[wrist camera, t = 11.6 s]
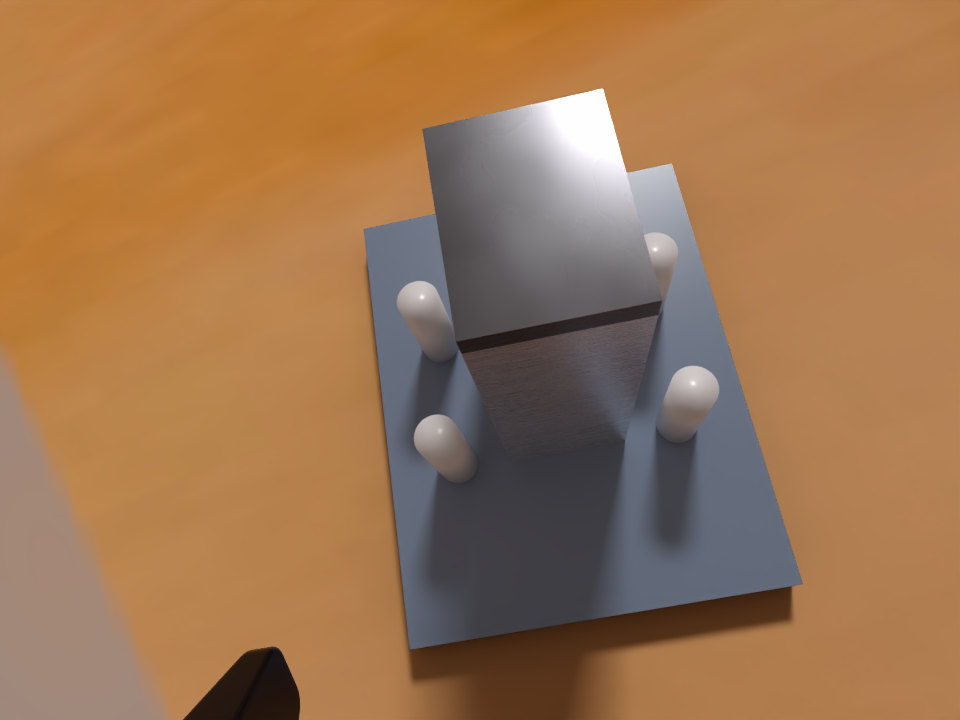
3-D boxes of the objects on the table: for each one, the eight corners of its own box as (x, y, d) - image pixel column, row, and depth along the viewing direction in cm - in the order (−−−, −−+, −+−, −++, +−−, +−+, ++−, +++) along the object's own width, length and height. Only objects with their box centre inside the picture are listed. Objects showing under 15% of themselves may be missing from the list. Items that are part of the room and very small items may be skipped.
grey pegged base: (791, 585, 20) (849, 578, 15) (417, 648, 20) (375, 657, 16) (668, 180, 25) (686, 92, 20) (371, 243, 25) (330, 170, 21)
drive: (625, 440, 21) (662, 300, 11) (511, 461, 21) (455, 341, 12) (593, 307, 22) (602, 88, 13) (487, 328, 23) (422, 129, 13)
